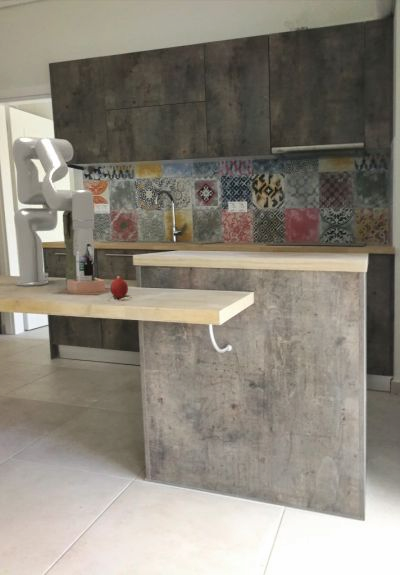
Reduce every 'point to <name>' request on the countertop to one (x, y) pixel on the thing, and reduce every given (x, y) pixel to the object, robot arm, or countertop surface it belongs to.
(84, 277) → the syrup box
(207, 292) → the countertop surface
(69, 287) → the terracotta square tray
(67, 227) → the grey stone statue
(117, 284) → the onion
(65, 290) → the board
